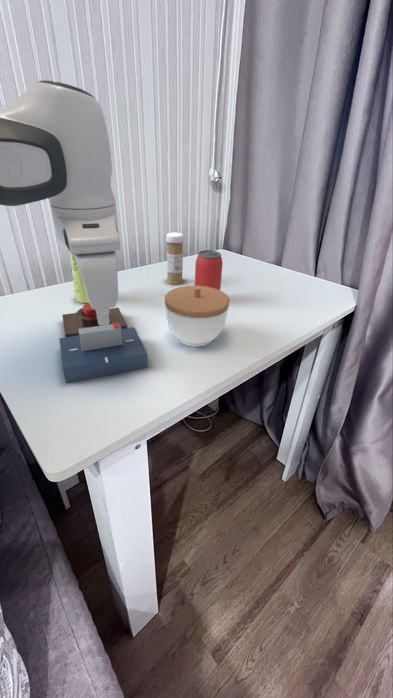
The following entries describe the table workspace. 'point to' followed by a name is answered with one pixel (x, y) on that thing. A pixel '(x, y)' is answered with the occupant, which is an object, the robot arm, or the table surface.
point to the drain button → (89, 311)
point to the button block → (88, 321)
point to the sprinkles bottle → (174, 257)
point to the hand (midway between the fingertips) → (99, 310)
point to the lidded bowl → (196, 314)
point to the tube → (78, 282)
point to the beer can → (208, 269)
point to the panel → (102, 357)
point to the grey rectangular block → (100, 336)
